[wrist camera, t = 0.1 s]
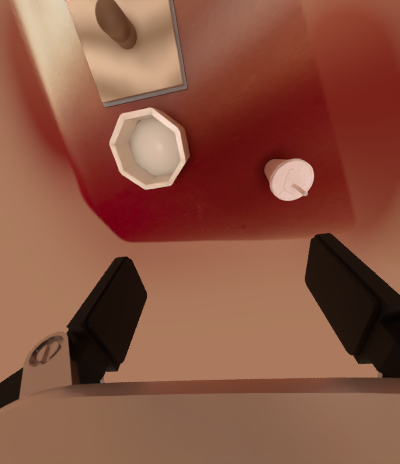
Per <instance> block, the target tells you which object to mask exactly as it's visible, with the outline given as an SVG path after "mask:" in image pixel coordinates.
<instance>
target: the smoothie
mask: <svg viewBox="0 0 400 464" xmlns="http://www.w3.org/2000/svg"><path fill="white" fill-rule="evenodd" d="M264 172H265V175H266V177H267V179H268V181H269V183H270V188H271V191H272V193H273V194H274V195H275V196H276V197H278V198H279V199H281V200H286V201H289V200H295V199H297V198H299V197H301V196H303V195H304V196H306V195H307V194H308V193H307V191H308V190H309V189H310V187H311V185H312V183H313V180H314V172H313V169H312V167H311V166H310V165H309V164H308V163H307V162H305V161H304V160H301V159H290V160H282V159H272V160H270V161H269V162H268V163H267V164H266V165H265V168H264Z"/></svg>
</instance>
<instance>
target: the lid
mask: <svg viewBox="0 0 400 464" xmlns="http://www.w3.org/2000/svg"><path fill="white" fill-rule="evenodd" d="M66 3H67V6H68V9H69V11H70V14H71V17H72V20H73V22H74V25H75V28H76V31H77V34H78V36H79V39H80V42H81V45H82V47H83V50H84V53H85V56H86V59H87V61H88V64H89V67H90V70H91V72H92V75H93V78H94V81H95V83H96V86H97V89H98V92H99V95H100V97H101V100H102V103H109V102H113V101H118V100H122V99H126V98H131V97H135V96H139V95H144V94H148V93H152V92H157V91H161V90H166V89H170V88H174V87H179V86H183V85H184V84H183V78H182V72H181V67H180V61H179V55H178V49H177V43H176V37H175V31H174V26H173V20H172V14H171V8H170V2H169V0H66Z"/></svg>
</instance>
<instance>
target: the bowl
mask: <svg viewBox="0 0 400 464" xmlns="http://www.w3.org/2000/svg"><path fill="white" fill-rule="evenodd" d="M109 143H110V144H109V145H110V147H111V150H112V153H113V155H114V158H115V160H116V163H117V166H118V168H119V171H120V173H121V174H122V175H123V176H125V177H126V178H128V179H130V180H131V181H133V182H134V183H136V184H137V185H139V186H140V187H142V188H144V189H146V190H147V189H153V188H159V187H165V186H171V185H172V183H173V182H174V180H175V179H176V177H177V176H178V174H179V172H180V171H181V169H182V168H183V166H184V164H185V163H186V161H187V160H188V158H189V157H190V154H189V149H188V143H187V138H186V132H185V129H184V127H182V126H181V125H180V124H179V123H177V122H176V121H175V120H173V119H172V118H171V117H170V116H168V115H167V114H166V113H165V112H163V111H161V110H158V109H154V108H151V107H150V108H146V109H141V110H137V111H132V112H128V113H123V114H121V115H120V117H119V119H118V122H117V124H116V127H115V129H114V132H113V134H112V137H111V140H110V142H109ZM173 172H174V173H173Z"/></svg>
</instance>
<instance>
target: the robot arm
mask: <svg viewBox="0 0 400 464" xmlns="http://www.w3.org/2000/svg"><path fill="white" fill-rule="evenodd" d="M305 282H306V285H307V287H308V289H309V290H310V292H311V293H312V295H313V297H314V298H315V300H316V302H317V303H318V305H319V307H320V308H321V310H322V312H323V313H324V315H325V316H326V318H327V320H328V321H329V323H330V325H331V326H332V328H333V330H334V331H335V333H336V335H337V336H338V338H339V340H340V341H341V343H342V345H343V346H344V348H345V350H346V351H347V352H348V353H349V354H350V355H353V356H354V357H355V359H356V361H357V362H358V364H373V365H374V367H375V368H376V369H377V371H378V378H290V379H289V378H287V379H237V380H196V381H195V380H194V381H155V382H121V383H105V382H104V378H103V376H104V374H105V372H111V371H112V372H113V371H118V369H119V366H120V364H121V363H123V361H124V359H125V357H126V354H127V351H128V349H129V346H130V343H131V340H132V338H133V335H134V332H135V329H136V327H137V324H138V321H139V318H140V316H141V313H142V310H143V307H144V305H145V302H146V299H147V292H146V290H145V288H144V285H143V283H142V281H141V279H140V277H139V274H138V272H137V270H136V268H135V266H134V263H133V261H132V260H131V259H129V258H128V257H118V258H115V259H114V261H113V262H112V264H111V265H110V266H109V268H108V269H107V271H106V272H105V274H104V275H103V276H102V278H101V279H100V281H99V282H98V283H97V285H96V286H95V288H94V289H93V290H92V292H91V293H90V295H89V296H88V297H87V299H86V300H85V302H84V303H83V304H82V306H81V307H80V309H79V310H78V311H77V313H76V314H75V316H74V317H73V319H72V320H71V321H70V323H69V324H68V325H67V327H68V329H69V330H68V332H67V333H64V332H56V333H53V334H51V335H49V336H47V337H46V338H44V339H43V340H41V341H40V342H39V343H38V344H37V345H36V346H35V347H34V348H33V349H32V350H31V351H30V353H29V354H28V356H27V357H26V359H25V362H24V367H23V368H21V369H20V370H19V371H17V372H16V373H14V374H13V375H11V376H10V377H8V378H7V379H5V380H4V381H2V382H1V383H0V464H400V295H399V294H398V293H397V292H396V291H394V289H392V288H391V287H390V286H389V285H388V284H387V283H386V282H385V281H383V280H382V279H381V278H380V277H379V276H378V275H377V274H376V273H375V272H373V271H372V270H371V269H370V268H369V267H368V266H367V265H366V264H364V263H363V262H362V261H361V260H360V259H359V258H357V256H355V255H354V254H353V253H352V252H351V251H350V250H349V249H348V248H347V247H345V246H344V245H343V244H342V243H341V242H340V241H339V240H338V239H336V238H335V237H334V236H333V235H332V234H330V233H325V234H317V235H315V237H314V238H312V239H311V243H310V249H309V255H308V262H307V268H306V275H305Z"/></svg>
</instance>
